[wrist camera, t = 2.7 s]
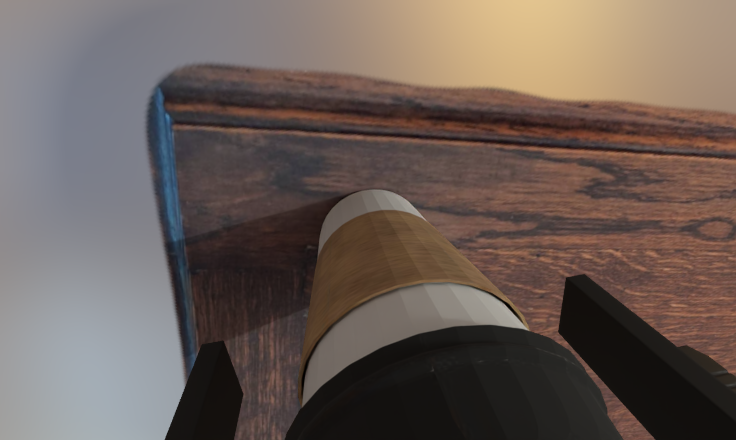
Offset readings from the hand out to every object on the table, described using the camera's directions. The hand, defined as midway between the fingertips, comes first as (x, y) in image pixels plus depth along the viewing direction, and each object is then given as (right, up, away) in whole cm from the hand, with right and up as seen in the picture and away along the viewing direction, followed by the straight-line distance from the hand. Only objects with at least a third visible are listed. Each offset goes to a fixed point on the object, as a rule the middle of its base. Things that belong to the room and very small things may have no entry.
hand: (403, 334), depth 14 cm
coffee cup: (-1, +3, +7) cm, 8 cm away
